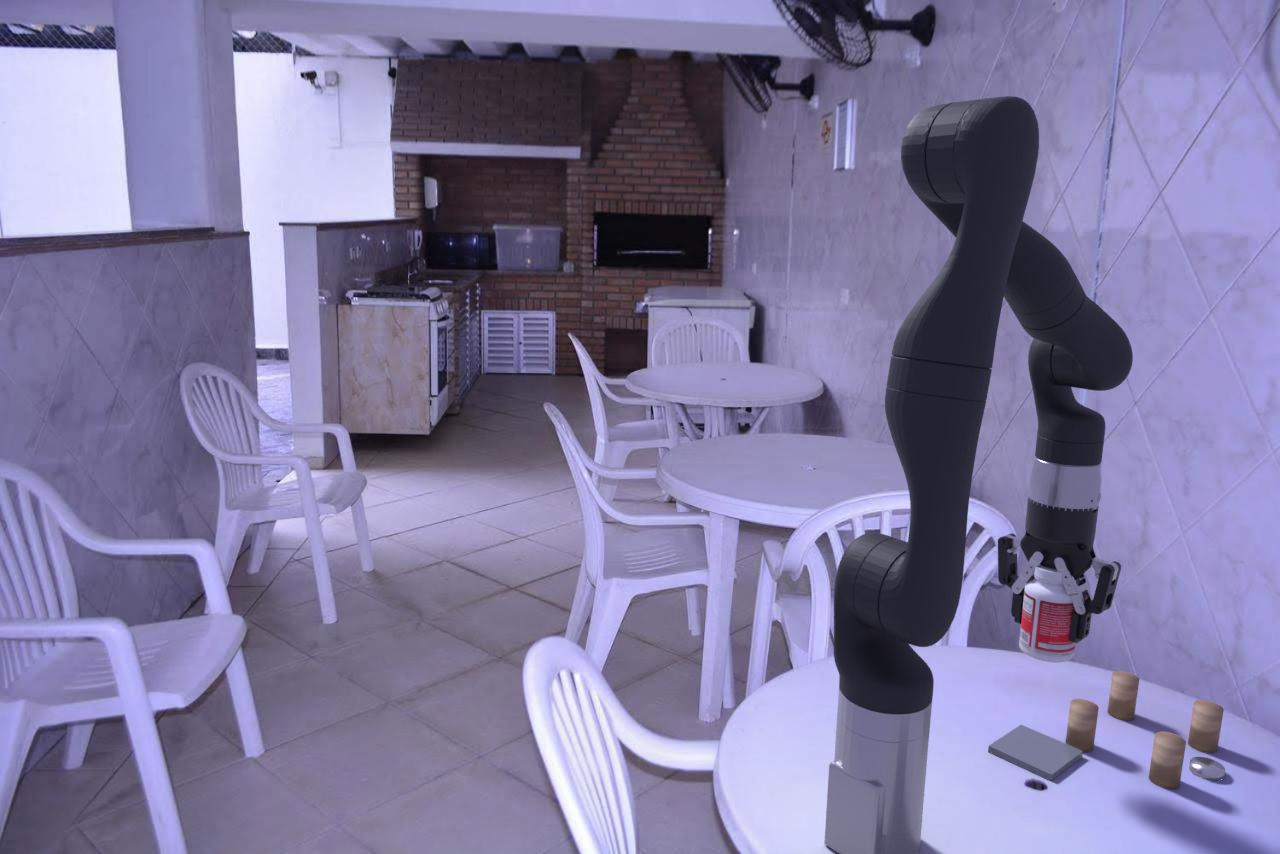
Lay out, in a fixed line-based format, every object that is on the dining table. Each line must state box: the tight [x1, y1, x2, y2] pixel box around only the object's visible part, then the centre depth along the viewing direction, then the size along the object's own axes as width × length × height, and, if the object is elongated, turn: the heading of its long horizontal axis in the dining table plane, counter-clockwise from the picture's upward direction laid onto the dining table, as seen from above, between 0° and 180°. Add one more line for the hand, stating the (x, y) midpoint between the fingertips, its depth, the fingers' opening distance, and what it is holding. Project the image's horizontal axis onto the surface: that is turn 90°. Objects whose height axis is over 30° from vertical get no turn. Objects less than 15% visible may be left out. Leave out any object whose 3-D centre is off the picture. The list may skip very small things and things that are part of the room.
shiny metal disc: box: [1188, 756, 1226, 782], centre depth 110 cm, size 4×4×1 cm
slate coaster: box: [987, 724, 1084, 781], centre depth 114 cm, size 8×8×1 cm
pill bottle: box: [1018, 566, 1077, 664], centre depth 110 cm, size 6×6×11 cm
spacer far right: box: [1107, 670, 1140, 722], centre depth 123 cm, size 3×3×6 cm
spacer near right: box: [1065, 698, 1099, 753], centre depth 115 cm, size 3×3×6 cm
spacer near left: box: [1148, 731, 1187, 790], centre depth 108 cm, size 3×3×6 cm
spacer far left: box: [1187, 699, 1224, 754], centre depth 115 cm, size 3×3×6 cm
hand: (1048, 630), depth 110 cm, fingers closed on pill bottle, 6 cm apart
